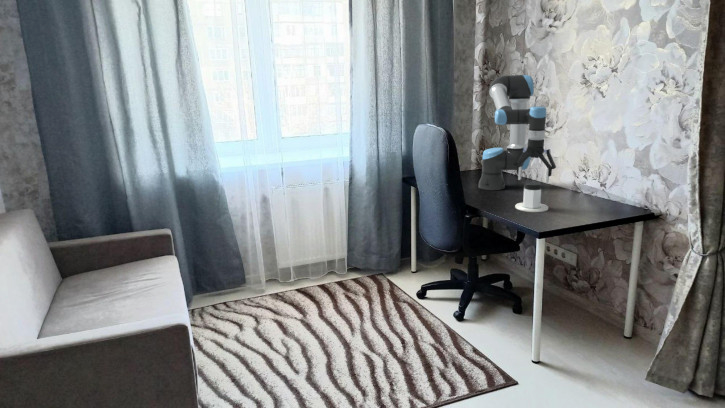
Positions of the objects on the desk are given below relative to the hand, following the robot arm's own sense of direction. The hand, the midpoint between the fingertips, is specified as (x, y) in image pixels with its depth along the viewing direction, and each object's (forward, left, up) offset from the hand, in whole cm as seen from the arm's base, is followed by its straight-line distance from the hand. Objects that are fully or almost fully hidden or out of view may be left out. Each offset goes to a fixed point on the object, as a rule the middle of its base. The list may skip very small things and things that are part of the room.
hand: (533, 180), depth 247 cm
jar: (0, 0, -13) cm, 13 cm away
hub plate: (0, 0, -14) cm, 14 cm away
